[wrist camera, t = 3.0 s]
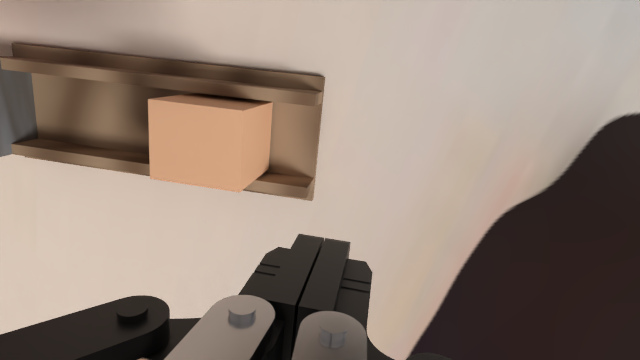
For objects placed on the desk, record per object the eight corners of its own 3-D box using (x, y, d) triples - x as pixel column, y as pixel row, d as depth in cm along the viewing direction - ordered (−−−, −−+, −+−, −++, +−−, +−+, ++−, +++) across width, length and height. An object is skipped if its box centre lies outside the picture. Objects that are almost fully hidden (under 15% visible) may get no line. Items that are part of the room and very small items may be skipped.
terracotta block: (272, 102, 29) (243, 110, 23) (268, 168, 30) (239, 192, 25) (194, 92, 30) (147, 99, 24) (194, 157, 31) (149, 178, 26)
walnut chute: (325, 77, 29) (309, 79, 23) (313, 198, 31) (296, 225, 26) (17, 43, 32) (-56, 39, 27) (29, 155, 35) (-35, 171, 29)
